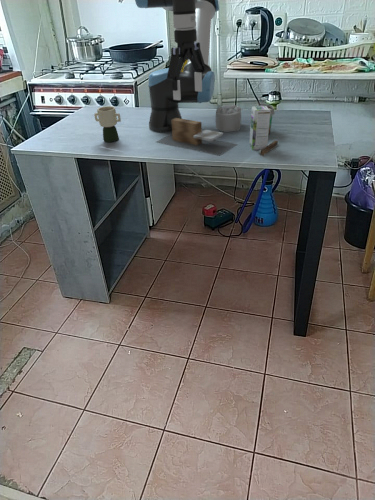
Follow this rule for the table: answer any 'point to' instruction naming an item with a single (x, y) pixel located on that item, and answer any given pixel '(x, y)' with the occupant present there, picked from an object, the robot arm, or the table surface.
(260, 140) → the syrup box
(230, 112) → the grey rounded piece
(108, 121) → the trophy cup
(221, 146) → the tool mat
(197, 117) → the table surface
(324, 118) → the table surface
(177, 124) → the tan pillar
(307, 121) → the table surface
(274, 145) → the bar
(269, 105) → the food container
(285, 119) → the table surface
